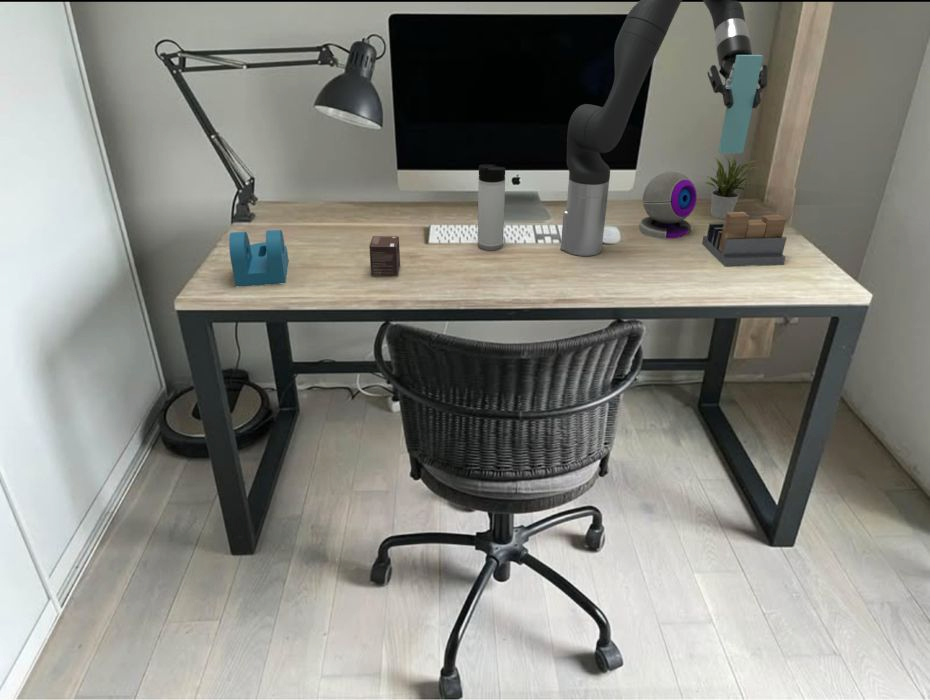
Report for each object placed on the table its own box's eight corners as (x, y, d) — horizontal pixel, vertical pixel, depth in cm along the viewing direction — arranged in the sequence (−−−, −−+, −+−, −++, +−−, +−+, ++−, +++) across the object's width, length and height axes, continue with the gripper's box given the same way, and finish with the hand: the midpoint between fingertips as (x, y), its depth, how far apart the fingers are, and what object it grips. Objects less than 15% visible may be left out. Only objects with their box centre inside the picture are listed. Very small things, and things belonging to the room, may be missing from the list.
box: (374, 265, 158) (372, 235, 154) (400, 266, 158) (399, 235, 154) (370, 276, 153) (368, 245, 149) (397, 277, 153) (396, 246, 149)
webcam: (664, 242, 170) (674, 183, 163) (628, 227, 180) (635, 170, 172) (700, 232, 176) (711, 174, 169) (663, 218, 186) (671, 162, 178)
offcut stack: (718, 249, 161) (726, 212, 157) (772, 247, 162) (781, 210, 158) (723, 253, 159) (731, 216, 154) (778, 252, 160) (787, 215, 155)
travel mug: (471, 246, 168) (471, 164, 158) (489, 239, 172) (490, 159, 162) (490, 253, 164) (492, 170, 154) (508, 245, 168) (511, 164, 158)
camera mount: (285, 284, 150) (279, 238, 144) (235, 287, 148) (227, 241, 143) (289, 252, 165) (283, 210, 160) (244, 255, 163) (237, 212, 158)
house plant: (762, 215, 187) (775, 155, 179) (741, 229, 178) (755, 166, 170) (712, 204, 195) (723, 146, 187) (690, 216, 187) (700, 156, 178)
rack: (701, 243, 170) (706, 220, 167) (756, 242, 171) (762, 219, 168) (724, 266, 158) (729, 241, 155) (783, 264, 159) (789, 240, 156)
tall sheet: (718, 151, 168) (736, 55, 157) (740, 151, 169) (760, 54, 157) (720, 153, 167) (739, 56, 156) (743, 153, 167) (763, 55, 156)
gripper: (709, 33, 161) (719, 97, 157) (769, 33, 162) (781, 96, 157) (697, 55, 168) (707, 116, 164) (754, 54, 169) (765, 115, 165)
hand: (743, 106), depth 161 cm, fingers closed on tall sheet, 5 cm apart
